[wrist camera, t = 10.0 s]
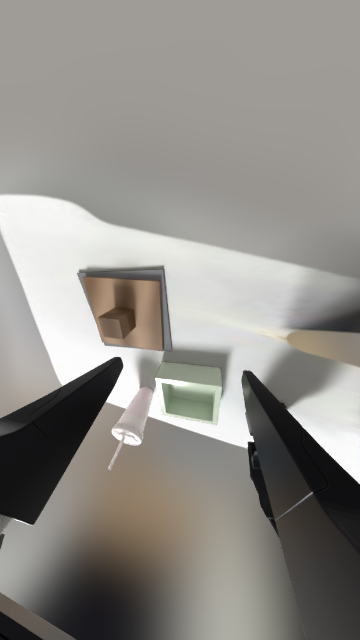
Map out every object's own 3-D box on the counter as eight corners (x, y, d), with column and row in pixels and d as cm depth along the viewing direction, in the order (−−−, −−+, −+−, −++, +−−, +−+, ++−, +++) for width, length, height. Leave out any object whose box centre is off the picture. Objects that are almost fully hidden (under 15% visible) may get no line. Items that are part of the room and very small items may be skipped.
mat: (163, 269, 19) (162, 269, 19) (171, 349, 26) (171, 351, 26) (78, 272, 22) (76, 273, 22) (106, 344, 29) (104, 345, 29)
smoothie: (130, 384, 34) (86, 458, 22) (150, 381, 32) (113, 461, 20) (143, 400, 36) (110, 475, 24) (162, 398, 34) (136, 479, 22)
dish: (220, 366, 26) (222, 386, 22) (216, 403, 31) (217, 425, 27) (162, 360, 28) (155, 377, 24) (167, 395, 34) (162, 414, 30)
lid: (160, 280, 20) (147, 288, 15) (163, 348, 26) (155, 367, 21) (85, 276, 22) (56, 281, 18) (104, 339, 28) (86, 355, 24)
